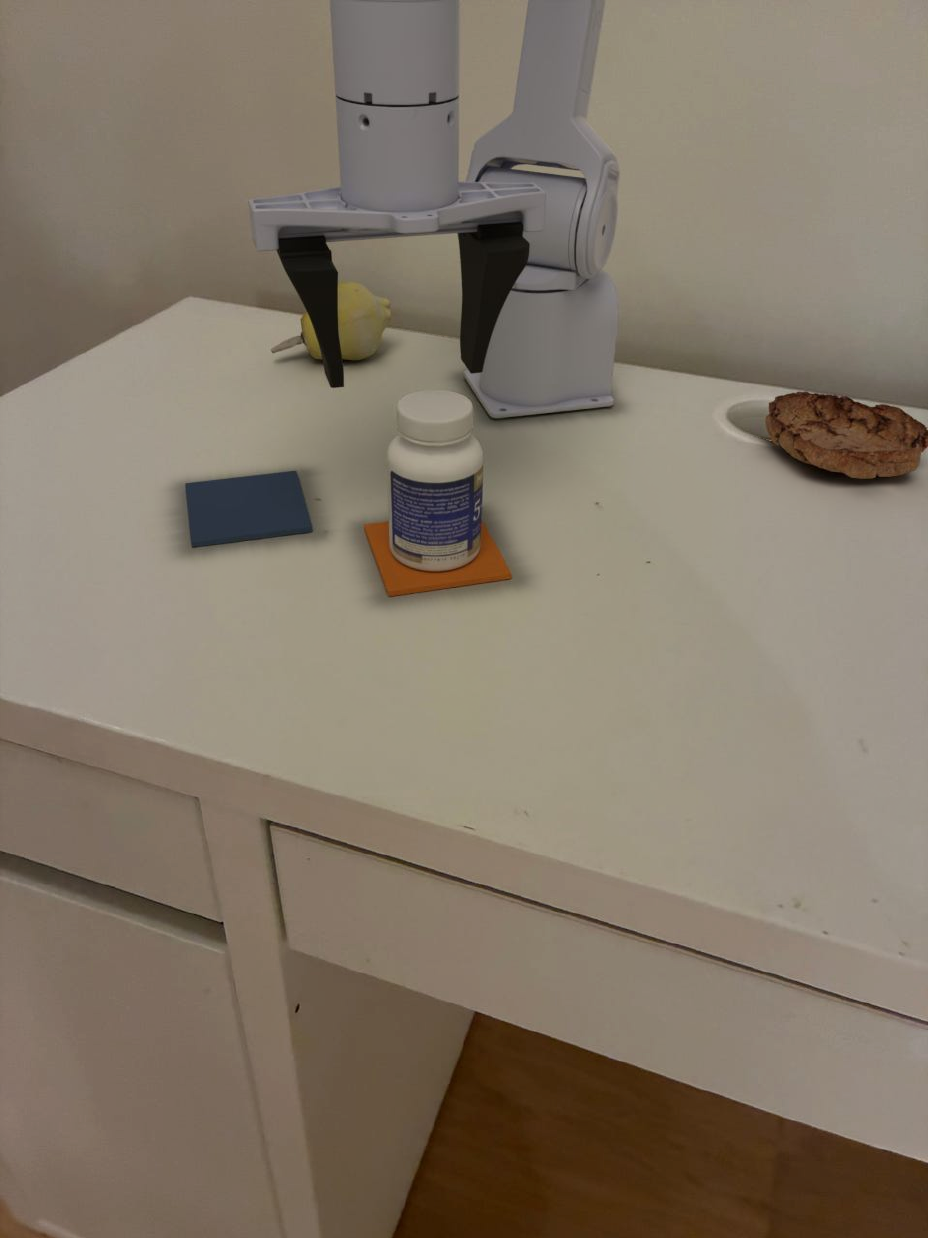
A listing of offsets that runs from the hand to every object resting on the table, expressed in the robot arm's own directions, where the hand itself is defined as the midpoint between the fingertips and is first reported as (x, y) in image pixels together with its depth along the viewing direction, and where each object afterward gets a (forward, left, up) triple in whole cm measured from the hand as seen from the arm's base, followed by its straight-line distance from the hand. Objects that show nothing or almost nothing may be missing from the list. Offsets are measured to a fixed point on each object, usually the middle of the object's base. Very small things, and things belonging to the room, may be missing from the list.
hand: (404, 372), depth 54 cm
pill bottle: (-1, +4, -9) cm, 10 cm away
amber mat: (-1, +4, -10) cm, 10 cm away
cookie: (-30, -1, -6) cm, 31 cm away
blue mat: (+9, -4, -10) cm, 14 cm away
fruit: (0, -26, -10) cm, 28 cm away
